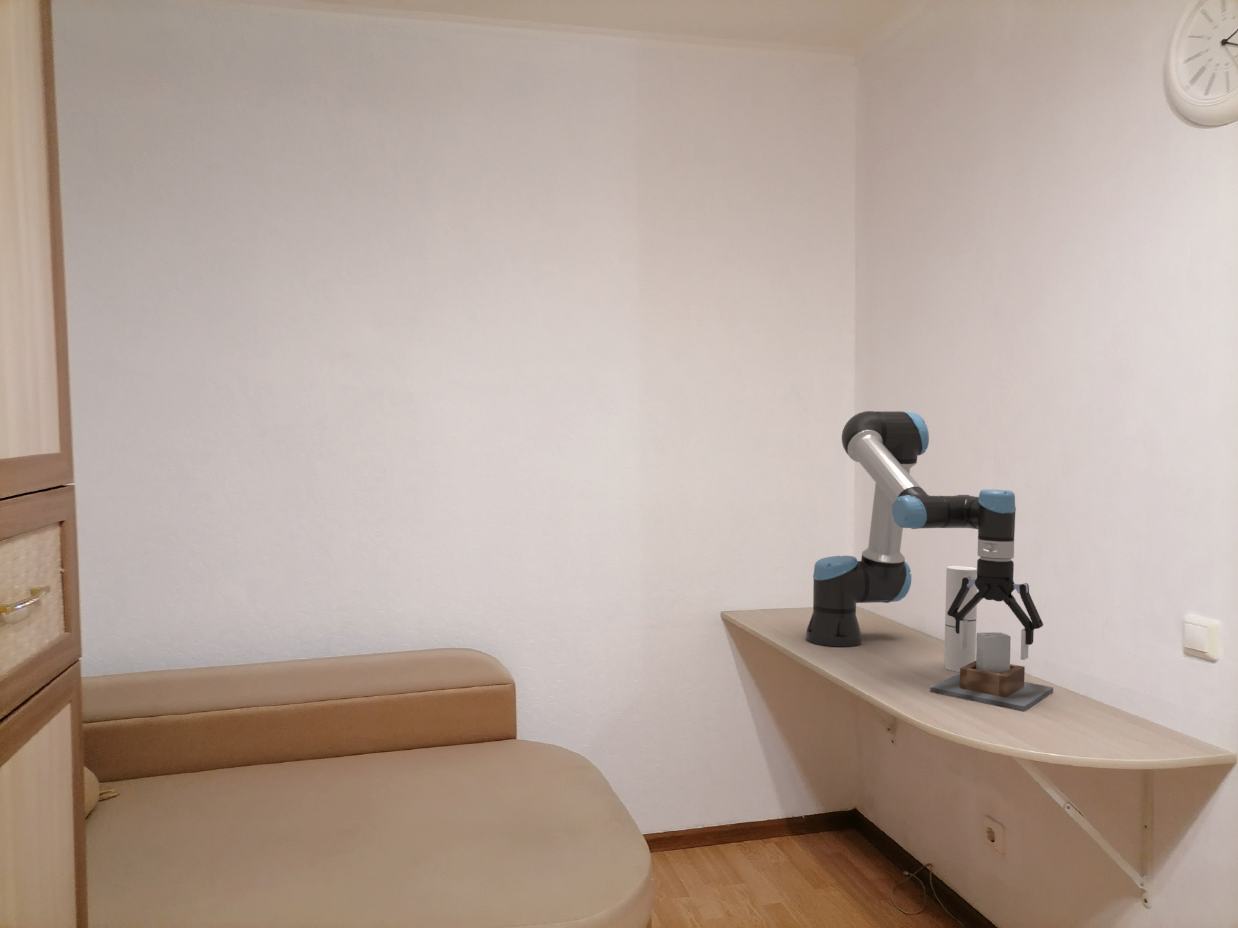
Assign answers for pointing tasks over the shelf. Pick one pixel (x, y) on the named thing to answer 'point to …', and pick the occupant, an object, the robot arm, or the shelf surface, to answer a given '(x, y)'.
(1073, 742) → the shelf surface
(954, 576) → the cylindrical container
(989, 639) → the skincare box
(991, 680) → the socket
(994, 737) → the shelf surface
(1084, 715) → the shelf surface
